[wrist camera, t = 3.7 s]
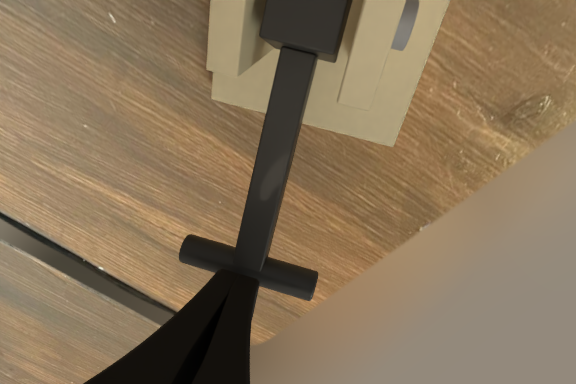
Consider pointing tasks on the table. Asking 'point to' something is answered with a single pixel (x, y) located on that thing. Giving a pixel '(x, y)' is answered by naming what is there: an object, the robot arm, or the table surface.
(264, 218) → the lever
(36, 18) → the table surface
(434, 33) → the bracket
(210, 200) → the table surface
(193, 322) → the robot arm
